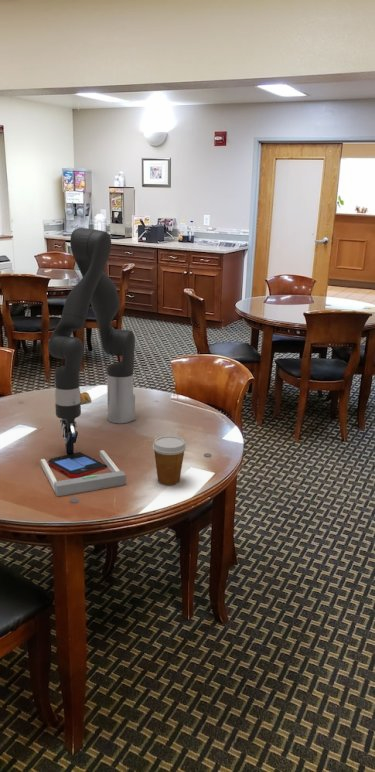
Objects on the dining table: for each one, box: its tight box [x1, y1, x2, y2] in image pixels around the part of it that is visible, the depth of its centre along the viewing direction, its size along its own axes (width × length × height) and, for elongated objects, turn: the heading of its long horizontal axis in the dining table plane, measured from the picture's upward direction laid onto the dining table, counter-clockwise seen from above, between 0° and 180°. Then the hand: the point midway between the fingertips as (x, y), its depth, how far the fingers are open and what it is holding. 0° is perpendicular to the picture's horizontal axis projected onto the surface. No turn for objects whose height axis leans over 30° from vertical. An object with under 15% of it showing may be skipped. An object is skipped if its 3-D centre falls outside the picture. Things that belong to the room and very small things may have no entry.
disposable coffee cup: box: [152, 435, 187, 486], centre depth 169 cm, size 10×10×12 cm
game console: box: [47, 451, 108, 479], centre depth 178 cm, size 14×13×2 cm
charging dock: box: [40, 449, 127, 498], centre depth 172 cm, size 19×21×3 cm
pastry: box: [80, 391, 92, 405], centre depth 233 cm, size 9×7×4 cm
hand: (69, 453), depth 185 cm, fingers closed
